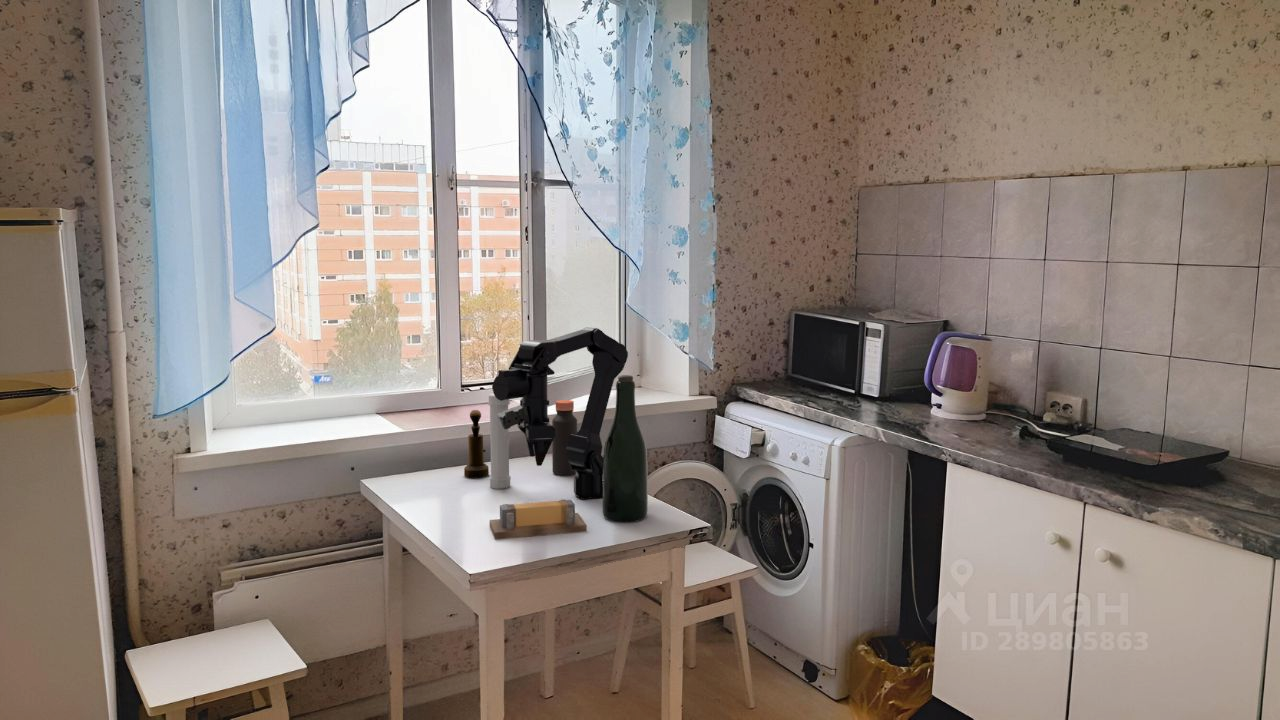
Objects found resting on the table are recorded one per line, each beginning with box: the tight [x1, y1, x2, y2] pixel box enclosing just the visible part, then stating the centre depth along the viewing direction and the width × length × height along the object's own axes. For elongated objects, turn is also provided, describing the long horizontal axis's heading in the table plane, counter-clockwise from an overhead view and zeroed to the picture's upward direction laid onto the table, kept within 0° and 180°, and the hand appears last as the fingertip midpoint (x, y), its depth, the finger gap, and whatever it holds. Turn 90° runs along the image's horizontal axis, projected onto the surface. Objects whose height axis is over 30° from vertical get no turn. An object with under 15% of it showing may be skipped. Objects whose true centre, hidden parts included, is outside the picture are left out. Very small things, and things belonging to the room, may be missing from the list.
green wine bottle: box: [602, 374, 649, 523], centre depth 203 cm, size 10×10×33 cm
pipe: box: [487, 392, 512, 490], centre depth 227 cm, size 6×6×30 cm
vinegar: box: [551, 399, 578, 477], centre depth 242 cm, size 7×7×20 cm
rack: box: [489, 503, 588, 540], centre depth 195 cm, size 20×9×5 cm, turn 107°
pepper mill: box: [463, 409, 490, 479], centre depth 239 cm, size 7×6×18 cm
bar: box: [499, 499, 576, 528], centre depth 195 cm, size 16×4×4 cm, turn 107°
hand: (535, 460), depth 207 cm, fingers open, 9 cm apart
